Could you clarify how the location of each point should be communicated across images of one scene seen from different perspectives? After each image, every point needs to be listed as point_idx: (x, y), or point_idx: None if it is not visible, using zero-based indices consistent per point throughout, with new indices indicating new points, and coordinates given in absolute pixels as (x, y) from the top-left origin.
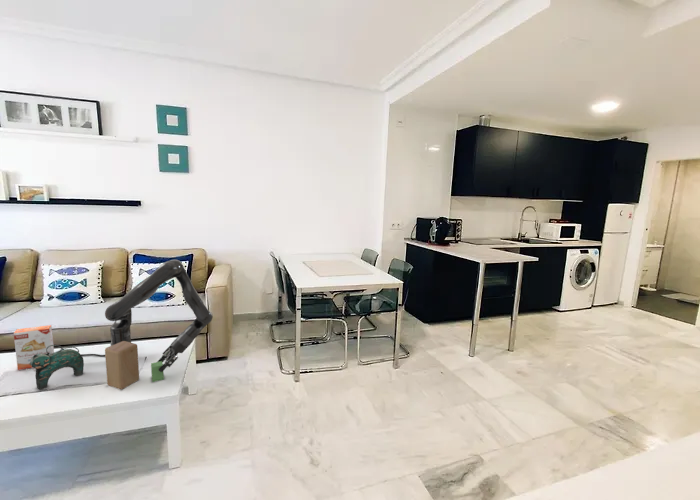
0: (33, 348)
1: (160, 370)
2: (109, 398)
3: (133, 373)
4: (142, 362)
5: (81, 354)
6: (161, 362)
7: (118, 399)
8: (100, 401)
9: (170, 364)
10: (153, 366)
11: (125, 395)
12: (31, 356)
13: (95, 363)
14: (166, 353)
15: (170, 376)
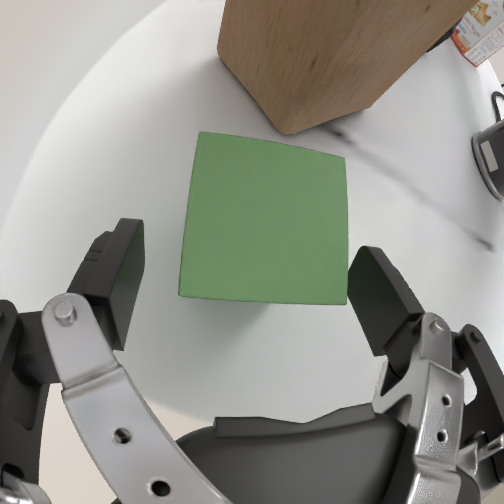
0: (475, 13)
1: (105, 240)
2: (172, 25)
3: (275, 54)
4: (464, 219)
5: (495, 101)
6: (299, 290)
7: (130, 45)
8: (174, 9)
9: (17, 385)
10: (223, 155)
11: (142, 64)
12: (463, 20)
13: (468, 99)
14: (414, 416)
15: (210, 352)
